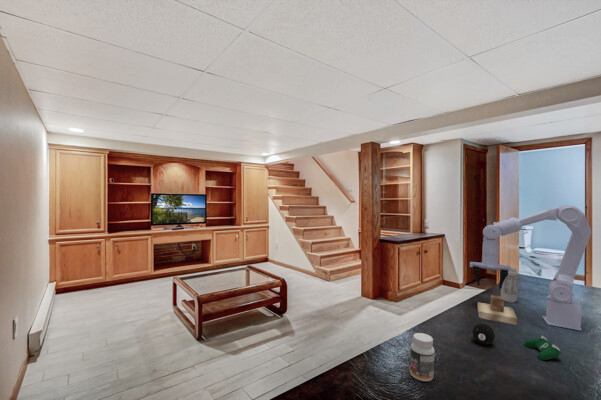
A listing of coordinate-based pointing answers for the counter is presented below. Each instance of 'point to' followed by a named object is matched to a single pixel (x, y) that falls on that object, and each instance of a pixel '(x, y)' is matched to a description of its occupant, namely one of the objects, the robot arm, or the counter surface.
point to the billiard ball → (483, 333)
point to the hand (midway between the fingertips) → (489, 286)
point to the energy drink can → (510, 286)
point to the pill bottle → (422, 357)
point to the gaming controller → (543, 348)
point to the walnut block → (497, 303)
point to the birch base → (496, 314)
